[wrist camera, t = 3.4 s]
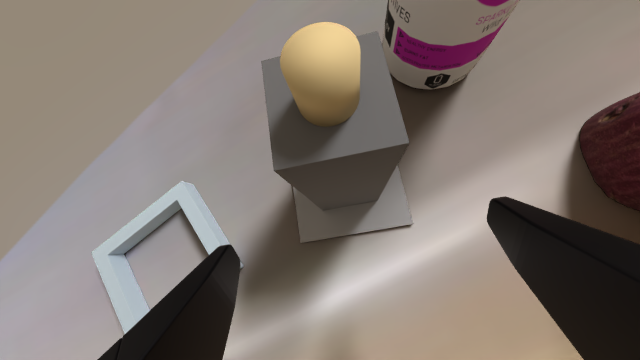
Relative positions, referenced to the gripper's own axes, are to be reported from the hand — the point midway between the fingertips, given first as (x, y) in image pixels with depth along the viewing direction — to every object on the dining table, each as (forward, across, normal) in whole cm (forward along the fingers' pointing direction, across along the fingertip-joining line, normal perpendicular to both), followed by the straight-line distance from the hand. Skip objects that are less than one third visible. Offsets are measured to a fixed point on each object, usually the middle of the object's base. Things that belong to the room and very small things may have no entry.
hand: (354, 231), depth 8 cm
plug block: (+11, 0, +4) cm, 12 cm away
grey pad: (+11, 0, +5) cm, 12 cm away
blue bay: (+8, +16, +8) cm, 19 cm away
